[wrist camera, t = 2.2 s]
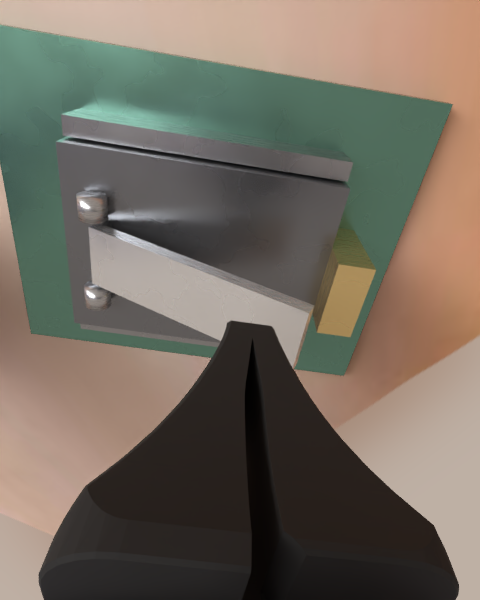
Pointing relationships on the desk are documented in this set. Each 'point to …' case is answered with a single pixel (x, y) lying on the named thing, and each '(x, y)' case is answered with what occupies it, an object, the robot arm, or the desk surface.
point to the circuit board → (203, 184)
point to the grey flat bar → (192, 289)
